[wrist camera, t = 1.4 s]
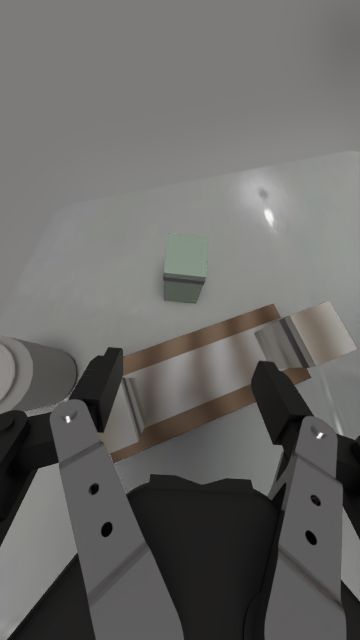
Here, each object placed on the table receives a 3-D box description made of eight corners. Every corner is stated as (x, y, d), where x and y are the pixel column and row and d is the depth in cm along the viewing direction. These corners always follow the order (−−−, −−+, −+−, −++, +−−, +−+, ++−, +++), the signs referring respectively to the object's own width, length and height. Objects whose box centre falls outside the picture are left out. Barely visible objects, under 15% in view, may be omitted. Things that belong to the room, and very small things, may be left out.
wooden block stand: (269, 306, 33) (318, 273, 23) (305, 377, 31) (379, 378, 20) (92, 369, 29) (49, 365, 18) (115, 459, 26) (81, 515, 16)
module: (197, 272, 34) (208, 237, 25) (195, 303, 33) (206, 277, 24) (167, 269, 34) (167, 232, 25) (164, 300, 32) (163, 273, 24)
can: (18, 406, 27) (-92, 429, 16) (27, 350, 29) (-65, 332, 18) (76, 403, 28) (11, 423, 16) (81, 348, 30) (27, 330, 18)
